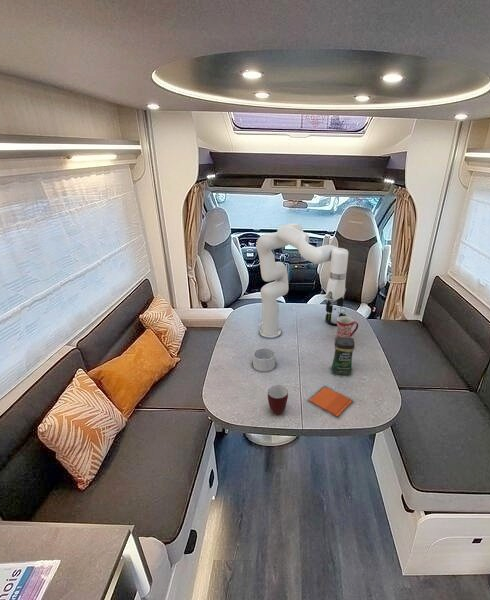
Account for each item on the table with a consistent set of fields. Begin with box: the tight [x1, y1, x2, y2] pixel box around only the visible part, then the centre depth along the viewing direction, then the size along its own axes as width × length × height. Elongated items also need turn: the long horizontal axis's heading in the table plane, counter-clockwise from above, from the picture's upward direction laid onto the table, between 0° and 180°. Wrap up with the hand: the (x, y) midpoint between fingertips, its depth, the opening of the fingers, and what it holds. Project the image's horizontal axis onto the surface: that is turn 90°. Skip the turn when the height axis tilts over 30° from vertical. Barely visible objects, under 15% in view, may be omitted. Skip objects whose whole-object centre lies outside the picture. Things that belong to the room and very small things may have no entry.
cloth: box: [309, 386, 353, 418], centre depth 135 cm, size 14×12×1 cm
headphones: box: [324, 307, 348, 328], centre depth 202 cm, size 16×10×20 cm
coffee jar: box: [331, 336, 356, 376], centre depth 151 cm, size 10×8×19 cm
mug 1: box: [267, 384, 289, 416], centre depth 127 cm, size 11×8×10 cm
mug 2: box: [336, 315, 359, 338], centre depth 180 cm, size 13×9×14 cm
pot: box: [252, 347, 276, 372], centre depth 157 cm, size 11×11×6 cm
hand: (334, 309), depth 150 cm, fingers open, 9 cm apart
